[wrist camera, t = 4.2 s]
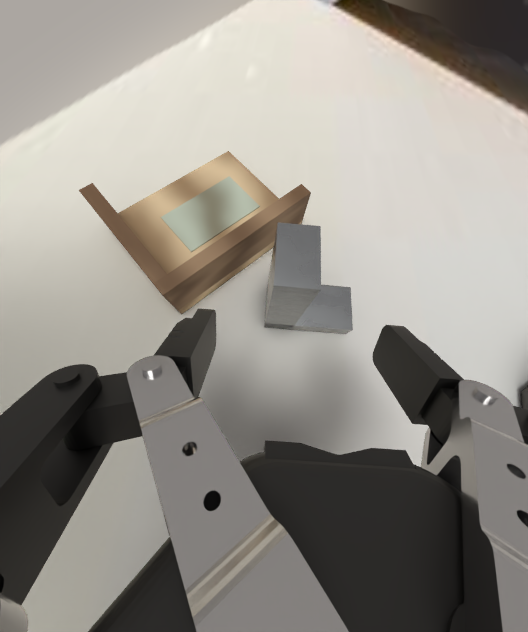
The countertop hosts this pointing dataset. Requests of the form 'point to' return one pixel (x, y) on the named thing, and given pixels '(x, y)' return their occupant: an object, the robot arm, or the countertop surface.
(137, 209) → the tray
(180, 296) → the walls
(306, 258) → the bracket
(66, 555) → the countertop surface
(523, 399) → the liquor
